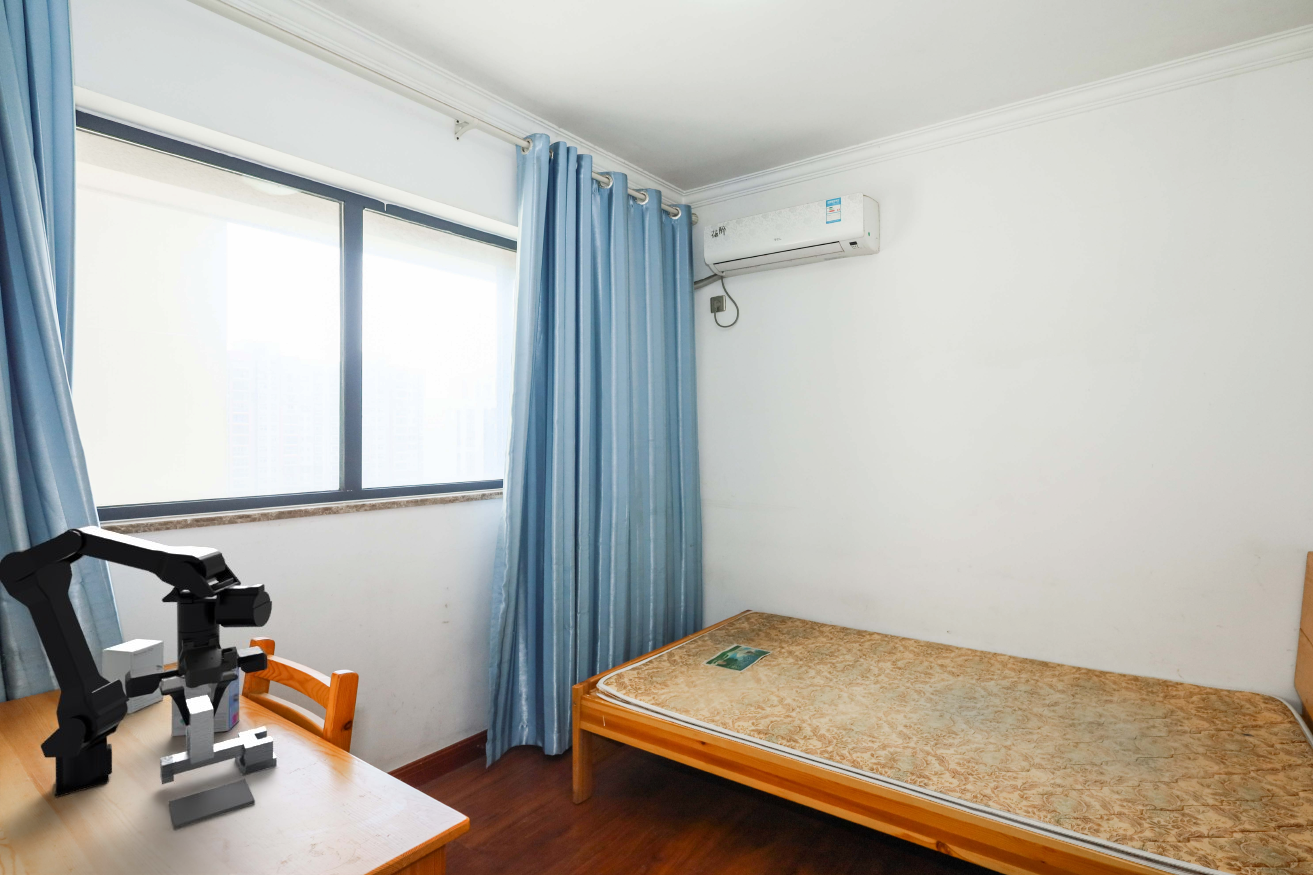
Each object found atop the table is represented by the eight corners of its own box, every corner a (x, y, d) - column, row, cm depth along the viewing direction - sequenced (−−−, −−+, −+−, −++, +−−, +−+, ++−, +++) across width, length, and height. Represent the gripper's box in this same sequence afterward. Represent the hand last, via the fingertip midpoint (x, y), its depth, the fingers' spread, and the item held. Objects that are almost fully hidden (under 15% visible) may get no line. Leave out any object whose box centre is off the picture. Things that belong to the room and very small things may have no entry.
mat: (174, 829, 94) (174, 825, 94) (168, 805, 100) (168, 801, 100) (254, 803, 101) (254, 799, 101) (245, 782, 107) (245, 778, 107)
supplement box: (130, 714, 132) (130, 651, 131) (100, 711, 133) (100, 649, 133) (165, 699, 139) (164, 640, 139) (136, 696, 140) (136, 637, 140)
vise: (163, 799, 102) (163, 770, 102) (159, 780, 107) (159, 753, 107) (276, 765, 112) (276, 739, 112) (267, 750, 117) (267, 725, 117)
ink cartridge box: (241, 719, 130) (240, 646, 130) (230, 731, 125) (230, 655, 124) (183, 724, 127) (183, 650, 127) (170, 737, 122) (169, 660, 122)
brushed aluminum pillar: (191, 763, 104) (190, 713, 104) (186, 747, 109) (185, 699, 109) (213, 757, 106) (213, 708, 106) (207, 741, 111) (207, 694, 111)
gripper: (128, 653, 95) (129, 759, 96) (274, 627, 108) (274, 722, 108) (124, 634, 104) (125, 732, 104) (260, 612, 116) (260, 700, 116)
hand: (199, 721), depth 108 cm, fingers closed on brushed aluminum pillar, 3 cm apart
